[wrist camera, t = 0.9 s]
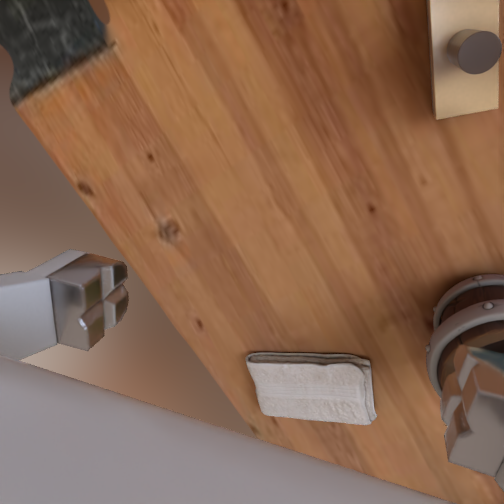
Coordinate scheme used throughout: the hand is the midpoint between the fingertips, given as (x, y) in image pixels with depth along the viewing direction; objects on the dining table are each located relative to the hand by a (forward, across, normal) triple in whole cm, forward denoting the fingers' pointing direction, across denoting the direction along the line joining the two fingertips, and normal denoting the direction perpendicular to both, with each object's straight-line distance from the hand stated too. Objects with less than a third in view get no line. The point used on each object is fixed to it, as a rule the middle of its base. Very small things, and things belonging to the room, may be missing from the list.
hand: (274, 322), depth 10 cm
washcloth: (+41, 0, +37) cm, 55 cm away
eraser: (+36, -7, -9) cm, 38 cm away
